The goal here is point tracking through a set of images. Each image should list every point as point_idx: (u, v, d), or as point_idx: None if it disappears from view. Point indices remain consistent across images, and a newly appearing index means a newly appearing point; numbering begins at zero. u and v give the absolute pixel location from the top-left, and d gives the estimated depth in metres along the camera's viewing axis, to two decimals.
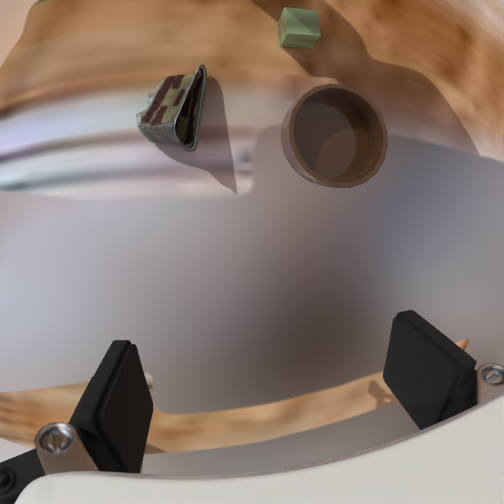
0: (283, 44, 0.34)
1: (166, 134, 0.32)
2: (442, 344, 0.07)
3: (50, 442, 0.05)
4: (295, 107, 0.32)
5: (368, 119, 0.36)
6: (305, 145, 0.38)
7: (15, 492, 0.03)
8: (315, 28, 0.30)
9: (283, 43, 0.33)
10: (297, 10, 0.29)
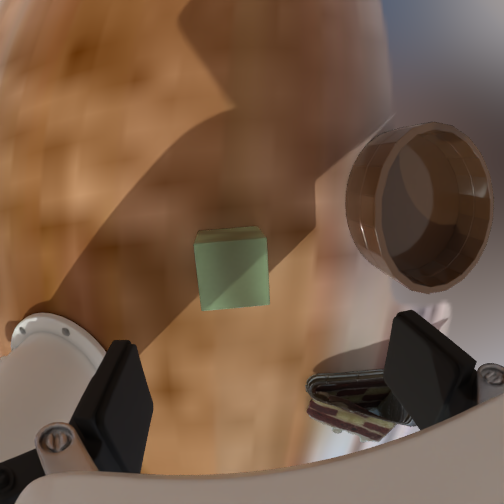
0: None
1: None
2: (442, 344, 0.07)
3: (50, 442, 0.05)
4: (409, 286, 0.20)
5: None
6: (421, 241, 0.24)
7: (15, 492, 0.03)
8: (247, 249, 0.19)
9: None
10: (205, 286, 0.19)
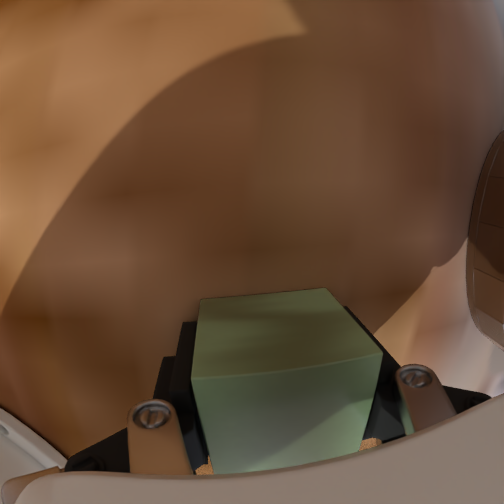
0: None
1: None
2: None
3: (145, 420, 0.06)
4: None
5: None
6: None
7: None
8: (334, 383, 0.06)
9: None
10: (223, 452, 0.07)
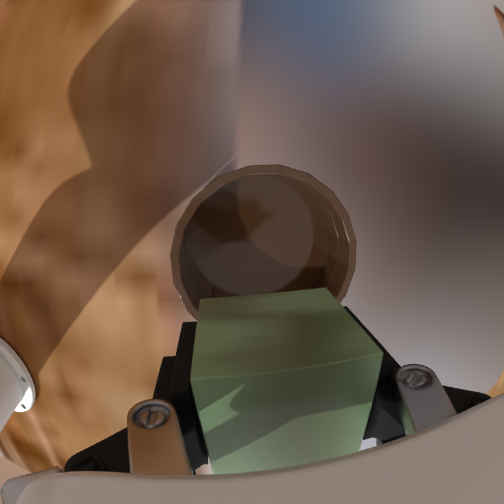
0: None
1: None
2: None
3: (144, 419, 0.06)
4: None
5: None
6: (273, 286, 0.26)
7: None
8: (334, 383, 0.06)
9: None
10: (223, 453, 0.07)
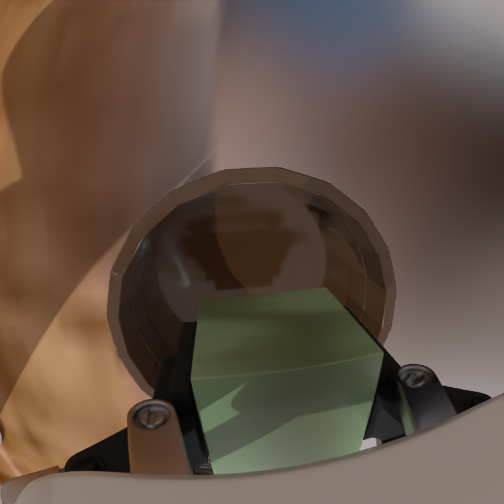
0: None
1: None
2: None
3: (145, 419, 0.06)
4: None
5: None
6: None
7: None
8: (335, 383, 0.06)
9: None
10: (223, 453, 0.07)
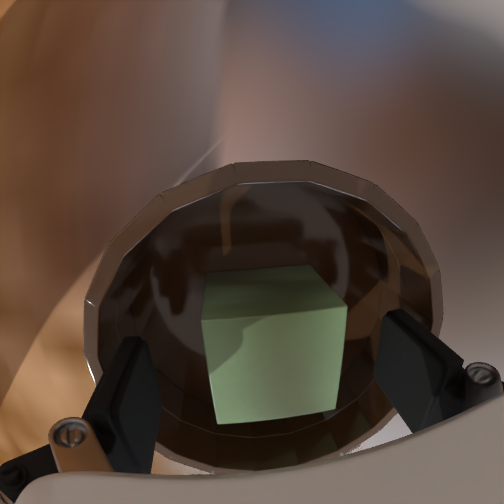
0: None
1: None
2: (430, 343, 0.07)
3: (64, 437, 0.05)
4: (207, 470, 0.11)
5: None
6: None
7: None
8: (309, 329, 0.09)
9: None
10: (224, 391, 0.09)
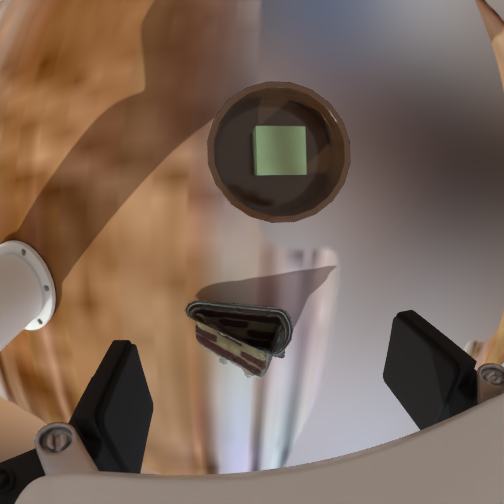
0: None
1: None
2: (442, 344, 0.07)
3: (50, 442, 0.05)
4: (248, 213, 0.27)
5: (247, 100, 0.27)
6: (285, 185, 0.31)
7: (15, 492, 0.03)
8: (292, 132, 0.25)
9: None
10: (261, 155, 0.26)
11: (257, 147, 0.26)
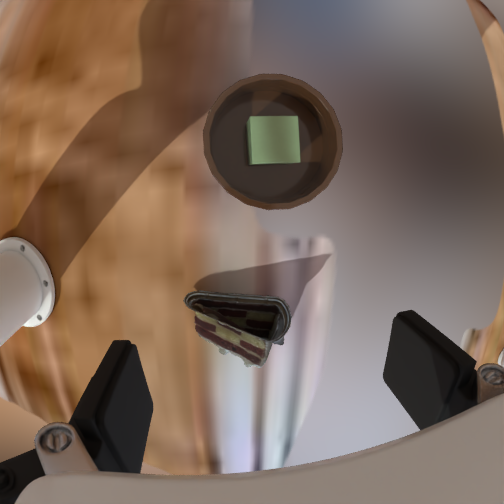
0: None
1: None
2: (442, 344, 0.07)
3: (50, 442, 0.05)
4: (244, 201, 0.28)
5: (241, 93, 0.28)
6: (280, 175, 0.32)
7: (15, 492, 0.03)
8: (285, 122, 0.26)
9: None
10: (256, 145, 0.26)
11: (251, 137, 0.26)
